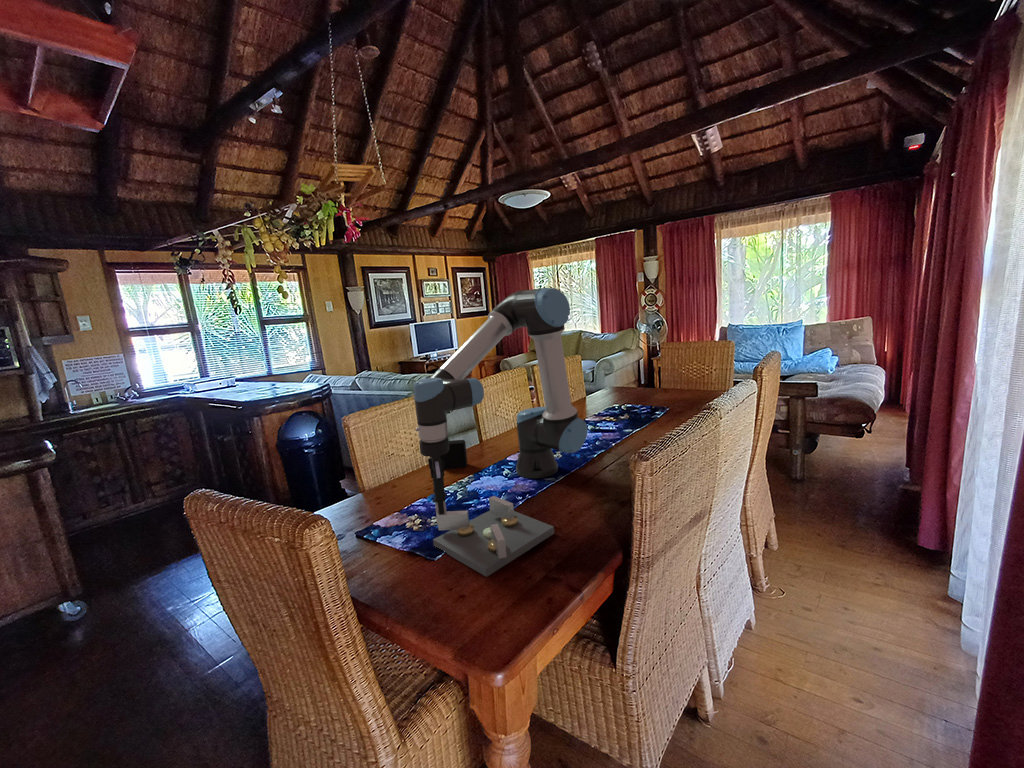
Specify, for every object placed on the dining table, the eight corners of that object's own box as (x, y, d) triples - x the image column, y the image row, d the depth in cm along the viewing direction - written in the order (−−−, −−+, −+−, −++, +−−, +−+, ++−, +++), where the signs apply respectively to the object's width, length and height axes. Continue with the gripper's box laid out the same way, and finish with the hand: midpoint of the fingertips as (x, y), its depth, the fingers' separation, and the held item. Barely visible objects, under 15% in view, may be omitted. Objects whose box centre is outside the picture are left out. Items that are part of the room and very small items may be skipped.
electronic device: (466, 467, 171) (463, 442, 169) (440, 469, 172) (437, 444, 170) (467, 463, 175) (465, 439, 174) (442, 465, 176) (439, 441, 174)
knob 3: (486, 544, 111) (484, 523, 110) (503, 540, 112) (501, 520, 111) (494, 564, 102) (491, 542, 101) (512, 560, 103) (510, 538, 102)
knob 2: (521, 522, 121) (519, 502, 120) (509, 528, 118) (507, 509, 117) (498, 512, 128) (497, 494, 127) (487, 518, 125) (485, 499, 124)
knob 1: (475, 527, 120) (473, 508, 119) (472, 535, 116) (470, 515, 115) (441, 528, 121) (439, 509, 120) (437, 537, 117) (435, 517, 116)
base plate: (500, 511, 133) (499, 501, 132) (554, 533, 118) (553, 522, 117) (433, 546, 117) (432, 535, 116) (486, 577, 102) (485, 564, 101)
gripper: (418, 432, 121) (426, 513, 125) (419, 447, 108) (429, 536, 113) (445, 429, 122) (453, 508, 127) (450, 443, 110) (458, 530, 115)
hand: (442, 521), depth 120 cm, fingers closed
